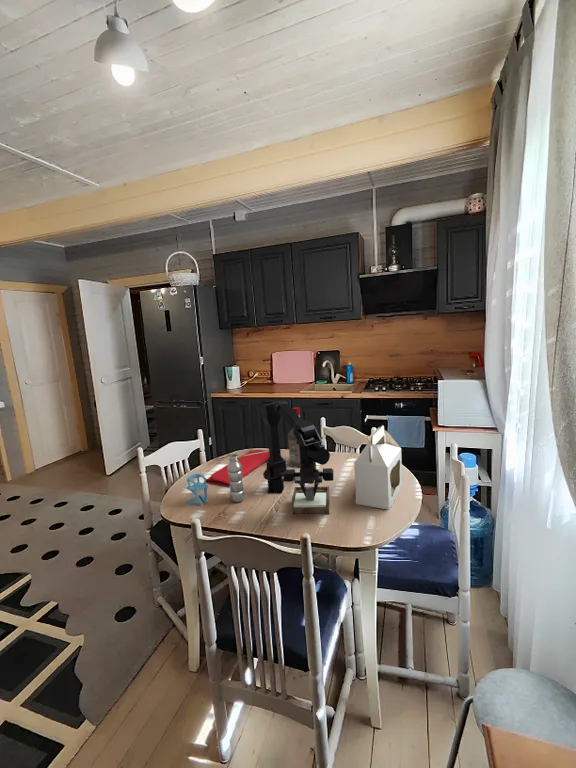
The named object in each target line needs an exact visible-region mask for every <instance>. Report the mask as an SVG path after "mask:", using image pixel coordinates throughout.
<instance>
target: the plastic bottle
mask: <svg viewBox="0 0 576 768" xmlns="http://www.w3.org/2000/svg"><path fill="white" fill-rule="evenodd" d="M238 458H239V456H238V454H237V453H235V454H234V453H233V454H230V455H229V457H228V461H229V463H228V464H227V465H228V466H227V465H226V466H227V471H228V475H229V479H230V487H229V489H230V490H229V497H230V500H231V501H232V502H234V503H239V502H242V501H244V500H245V498H246V492H245V489H244V484H243V478H242V465H241V463H240V462H239V461H238Z"/></svg>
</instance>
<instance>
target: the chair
mask: <svg viewBox="0 0 576 768" xmlns="http://www.w3.org/2000/svg"><path fill="white" fill-rule="evenodd" d="M200 477H201V478H202V479H203V480H204V481H203V483H202V482H200ZM194 479H196V480H197V481H195V480H194ZM206 479H207V477H205V475H204V474H202V473H193V474H191V475H189V476H188V478H186V481H187V484H188V486H186V490H188V491H190V492H191V493H192V494H193V495H194V496H193V497H191V498H190V499H187V500H185V501H186V502H185V503H186V504H190V505H197V506H201V507H203V506H204V504H203V502H204V503H205V504H208V503H209V501H208V488H209V485H208V484H207V483H206ZM202 490H203V492H204V495H203V494H202V493H200V494H197V493H198V492H201V491H202ZM196 499H197V501H194V500H196Z"/></svg>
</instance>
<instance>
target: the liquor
mask: <svg viewBox="0 0 576 768" xmlns="http://www.w3.org/2000/svg"><path fill="white" fill-rule="evenodd" d="M300 409H301V407H299V406H298V407H297V406H295V407H293V408H292V410H293V411H294V412H295V413H296V414H297V415H298V416H299V417H300V418H301V410H300ZM287 439H288V453H289V464H290V466H291V467H294V468H298V469H300V453H299V445H298V444H296V442H297V441H298V440H297V439H296V437H295V436H294V434H293V429H292V428H291V429H290V430H289V431H288V433H287Z"/></svg>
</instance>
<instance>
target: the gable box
mask: <svg viewBox="0 0 576 768" xmlns="http://www.w3.org/2000/svg"><path fill="white" fill-rule="evenodd" d="M367 441H368V443H367V444H366V445H365V446H364V448H363V449H362V451H361V452H360V453H359V455H358V457H357V459H356V460H355V461H354V462H353V464H354V466H353V467H354V484H355V503H356V505H361V506H365V507H371V508H378V509H383V510H391V507H392V506H393V504H394V502H395V500H396V498H397V496H398V494H399V493H400V491H401V489H402V487H403V470H402V468H403V464H402V463H403V462H402V461H403V460H402V448H401V446H400V445H399V444H398V443H397V441H396V440H395V439H394V438H393V436H392V434H391V433H390V432H388V430H386V429H385V426H384V425H383V424H381V426H379V427H378V428H377V429H375V431H373V433H371V434H370V435H369V436H368V437H367Z"/></svg>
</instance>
